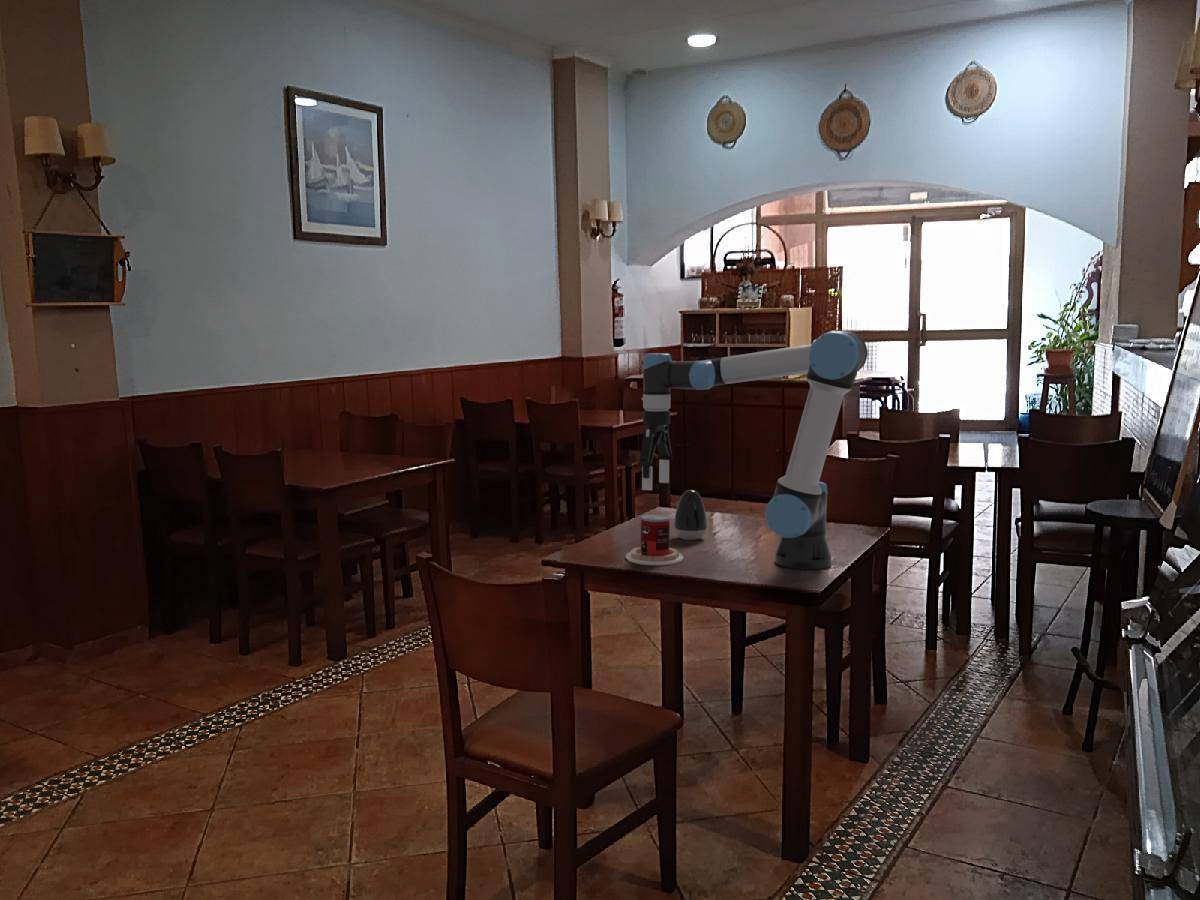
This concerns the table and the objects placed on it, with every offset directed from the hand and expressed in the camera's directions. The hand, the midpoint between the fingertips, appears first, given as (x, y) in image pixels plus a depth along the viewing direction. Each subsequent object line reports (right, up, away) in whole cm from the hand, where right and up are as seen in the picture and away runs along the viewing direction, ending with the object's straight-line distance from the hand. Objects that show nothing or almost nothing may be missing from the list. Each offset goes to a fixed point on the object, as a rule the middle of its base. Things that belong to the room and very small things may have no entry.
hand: (655, 486), depth 265 cm
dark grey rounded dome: (+12, -17, +29) cm, 36 cm away
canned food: (0, -20, +3) cm, 20 cm away
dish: (0, -20, +3) cm, 21 cm away
